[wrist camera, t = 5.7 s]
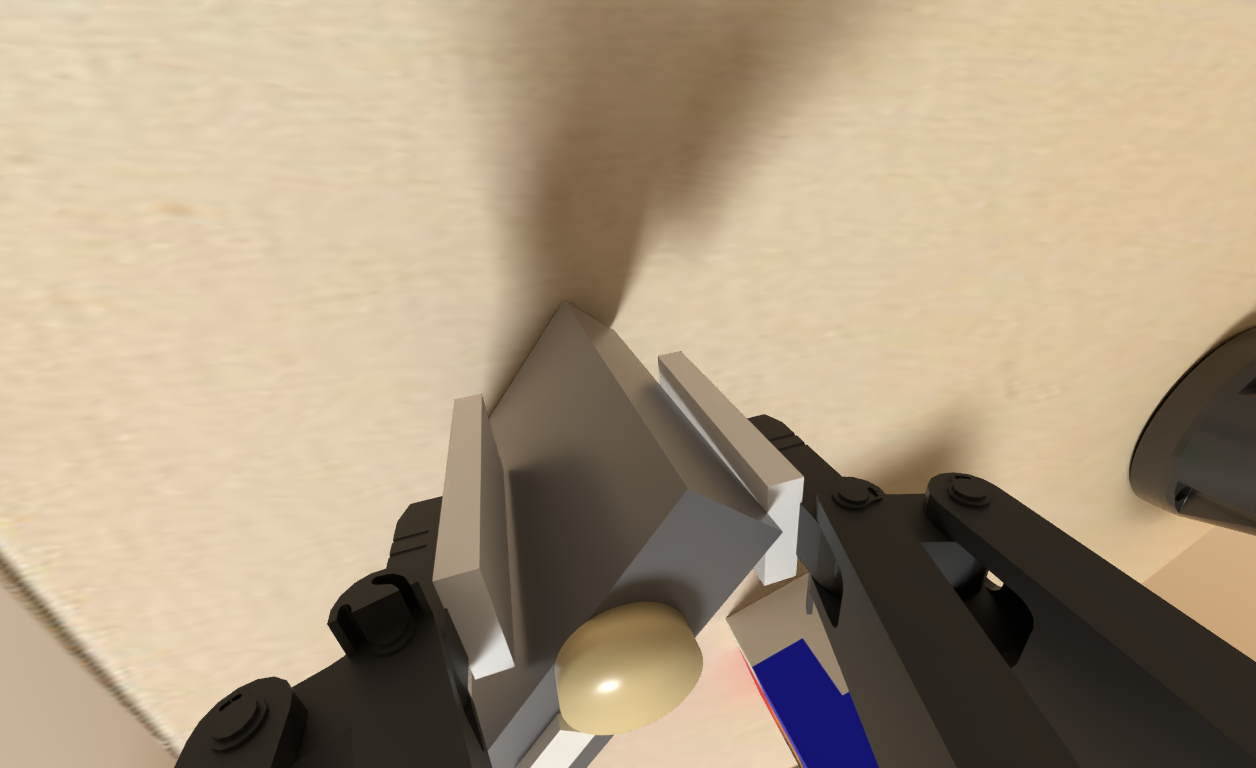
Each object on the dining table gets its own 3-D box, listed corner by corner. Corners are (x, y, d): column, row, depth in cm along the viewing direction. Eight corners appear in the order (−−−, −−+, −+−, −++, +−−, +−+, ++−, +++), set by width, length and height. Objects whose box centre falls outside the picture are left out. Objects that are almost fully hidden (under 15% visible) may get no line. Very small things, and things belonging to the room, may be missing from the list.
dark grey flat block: (561, 298, 18) (699, 510, 7) (615, 331, 19) (806, 557, 8) (470, 442, 19) (466, 810, 8) (526, 465, 20) (586, 813, 9)
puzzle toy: (724, 617, 30) (829, 807, 21) (860, 541, 30) (1016, 693, 22) (760, 693, 34) (856, 873, 26) (876, 626, 35) (1008, 778, 26)
